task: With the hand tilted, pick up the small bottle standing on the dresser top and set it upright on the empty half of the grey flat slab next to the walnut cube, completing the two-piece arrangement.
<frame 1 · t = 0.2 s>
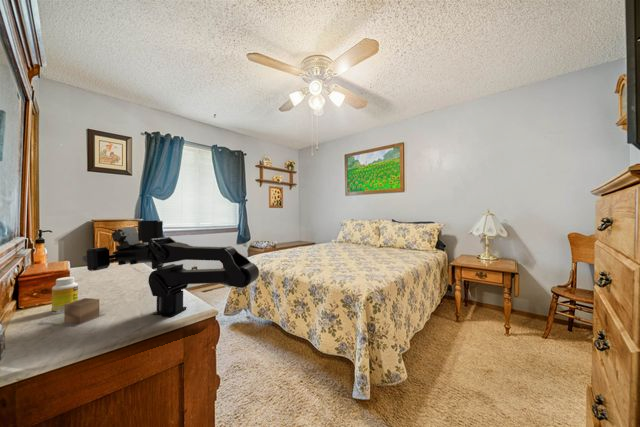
hand: (99, 255, 77), 17 cm above the dresser top, tool horizontal, fingers open, 9 cm apart
grey flat slab: (73, 320, 68), on the dresser top
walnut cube: (82, 319, 68), resting on grey flat slab
supplement bottle: (65, 312, 75), on the dresser top
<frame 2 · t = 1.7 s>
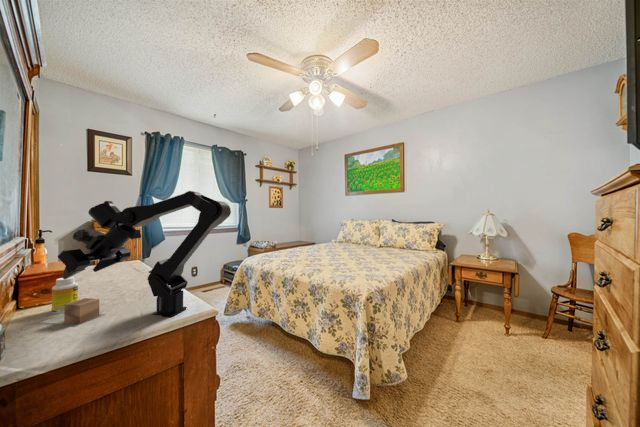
hand: (79, 274, 75), 11 cm above the dresser top, tool tilted 45°, fingers open, 9 cm apart
nothing on the dresser top moved.
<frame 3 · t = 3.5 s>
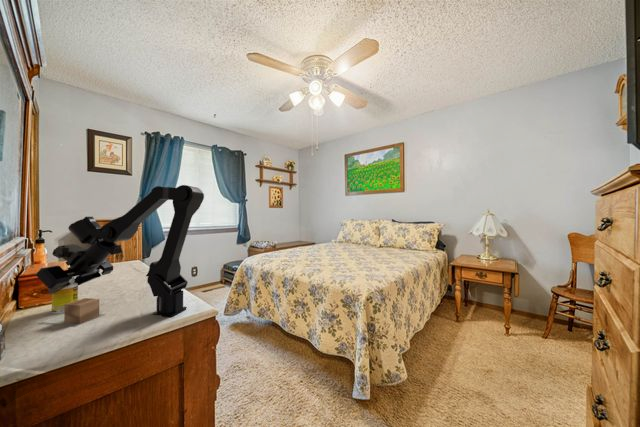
hand: (60, 289, 75), 7 cm above the dresser top, tool tilted 45°, fingers closed on supplement bottle, 5 cm apart
supplement bottle: (65, 311, 75), on the dresser top, touching gripper
everything else where it was.
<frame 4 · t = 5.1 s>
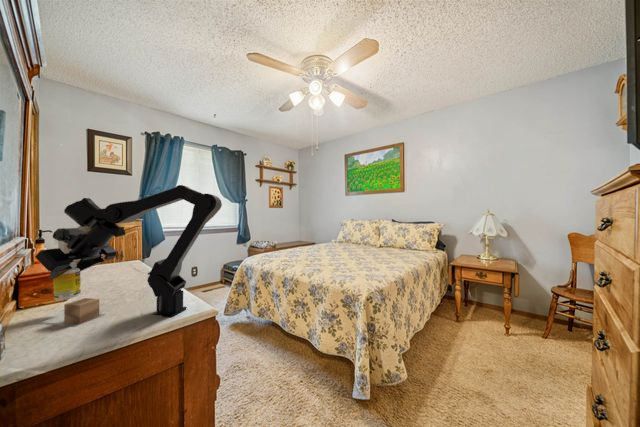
hand: (62, 275, 72), 12 cm above the dresser top, tool tilted 45°, fingers closed on supplement bottle, 5 cm apart
supplement bottle: (67, 297, 72), point 5 cm above the dresser top, touching gripper
everything else where it was.
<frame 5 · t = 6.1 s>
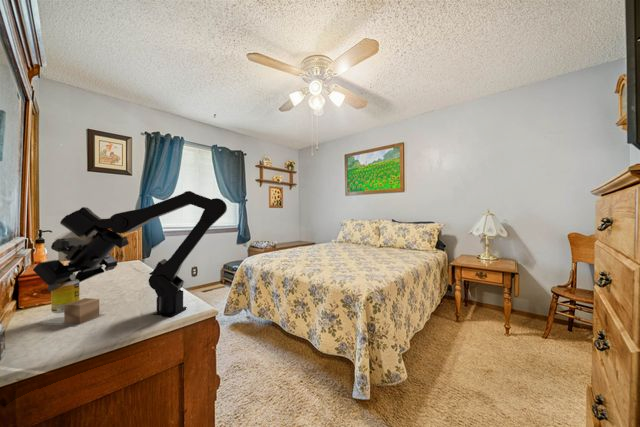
hand: (61, 286, 69), 9 cm above the dresser top, tool tilted 45°, fingers closed on supplement bottle, 5 cm apart
supplement bottle: (66, 310, 69), point 2 cm above the dresser top, touching gripper
everything else where it was.
when the fingers open (8 cm above the dresser top, at t = 6.7 s): supplement bottle drops 1 cm, resting on grey flat slab.
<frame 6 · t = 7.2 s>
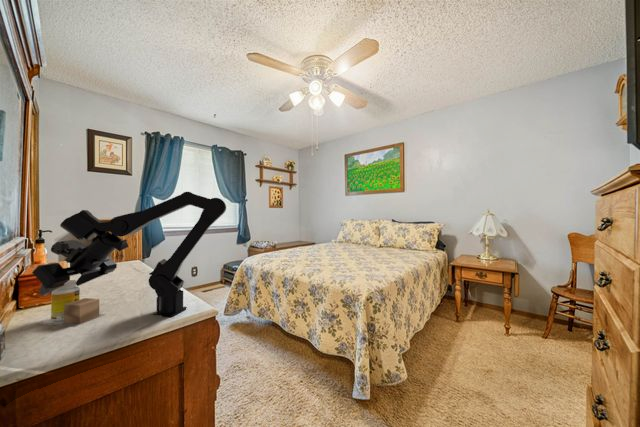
hand: (60, 289, 69), 9 cm above the dresser top, tool tilted 45°, fingers open, 9 cm apart
supplement bottle: (65, 318, 69), resting on grey flat slab
everything else where it was.
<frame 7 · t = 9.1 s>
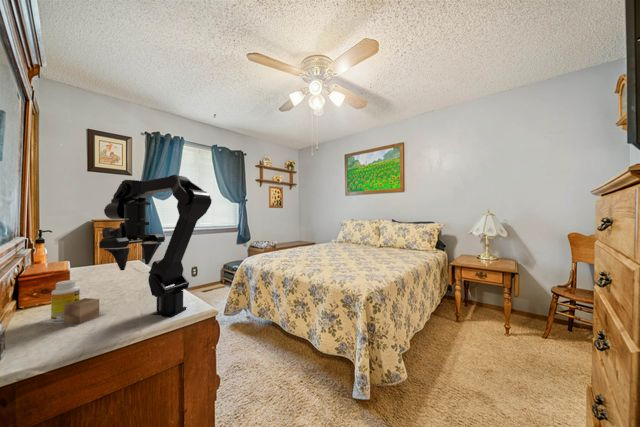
hand: (135, 267, 78), 13 cm above the dresser top, tool pointing down, fingers open, 9 cm apart
nothing on the dresser top moved.
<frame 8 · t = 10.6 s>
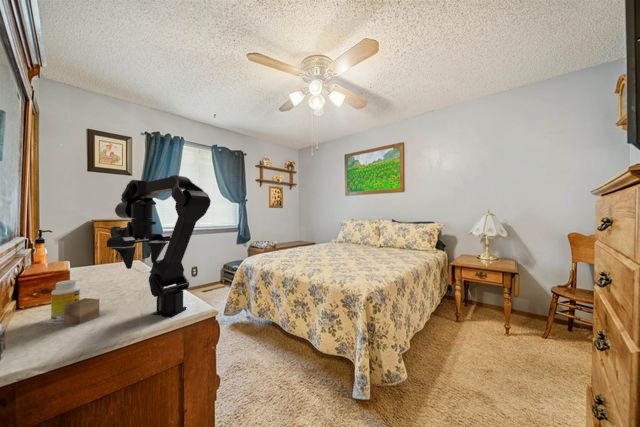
hand: (141, 265, 80), 13 cm above the dresser top, tool pointing down, fingers open, 9 cm apart
nothing on the dresser top moved.
at the end: supplement bottle inside the target area (0.5 cm from its centre), resting on grey flat slab; supplement bottle tilted 0°; the gripper is holding nothing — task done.
